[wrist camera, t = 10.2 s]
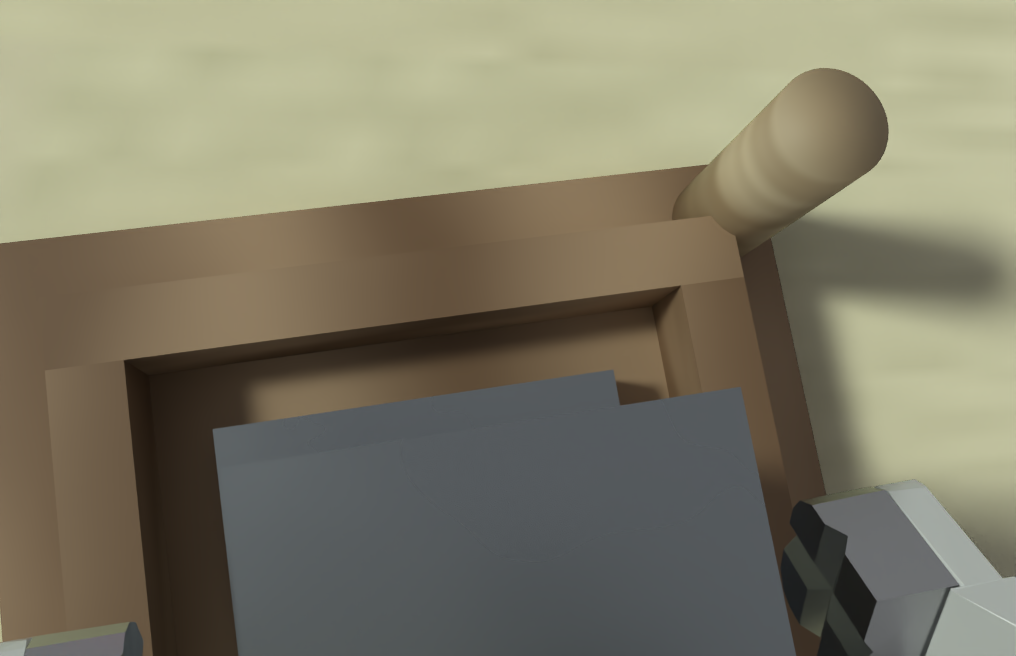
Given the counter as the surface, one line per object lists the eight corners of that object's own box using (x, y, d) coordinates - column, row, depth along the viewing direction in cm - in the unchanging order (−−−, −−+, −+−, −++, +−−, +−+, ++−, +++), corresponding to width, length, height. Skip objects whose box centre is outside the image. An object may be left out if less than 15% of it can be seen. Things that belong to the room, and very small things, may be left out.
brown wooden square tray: (66, 1133, 16) (-118, 1517, 10) (-2, 263, 18) (-183, 141, 12) (887, 916, 18) (1142, 1115, 12) (732, 179, 21) (880, 44, 15)
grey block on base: (270, 849, 16) (139, 1314, 7) (223, 434, 17) (55, 347, 8) (667, 760, 17) (1016, 1051, 8) (597, 378, 18) (833, 243, 9)
